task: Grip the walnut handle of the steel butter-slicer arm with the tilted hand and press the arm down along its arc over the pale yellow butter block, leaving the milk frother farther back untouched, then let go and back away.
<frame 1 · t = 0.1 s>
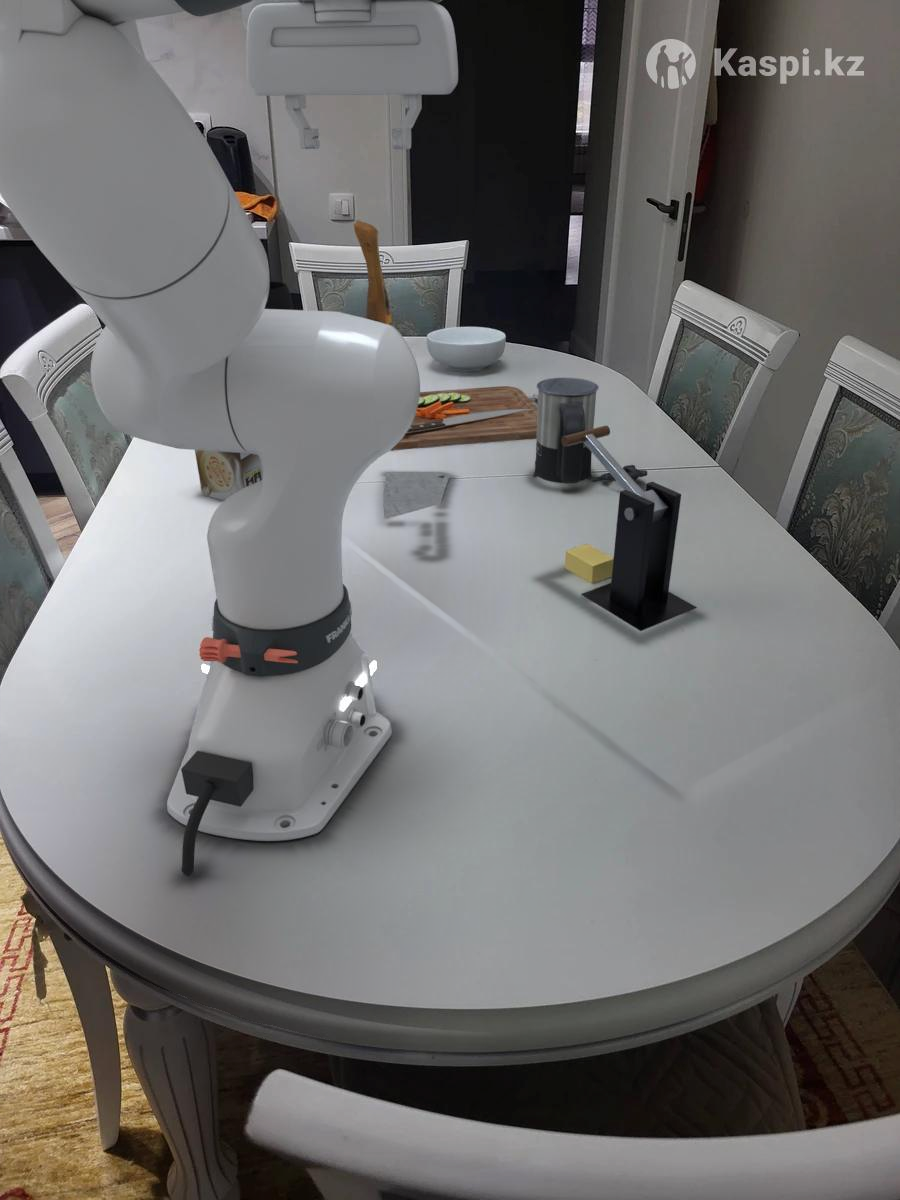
hand: (355, 149, 88), 48 cm above the table, tool pointing down, fingers open, 8 cm apart
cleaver: (413, 512, 128), on the table
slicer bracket: (637, 609, 104), on the table
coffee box: (237, 494, 135), on the table
cereal bowl: (466, 368, 194), on the table
pancake mix bag: (379, 353, 205), on the table
chopping board: (431, 421, 163), on the table
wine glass: (275, 388, 182), on the table
slicer arm: (618, 473, 100), point 15 cm above the table, hinge at 25.0°
milk frother: (588, 482, 138), on the table
butter: (588, 573, 110), point 1 cm above the table, touching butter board
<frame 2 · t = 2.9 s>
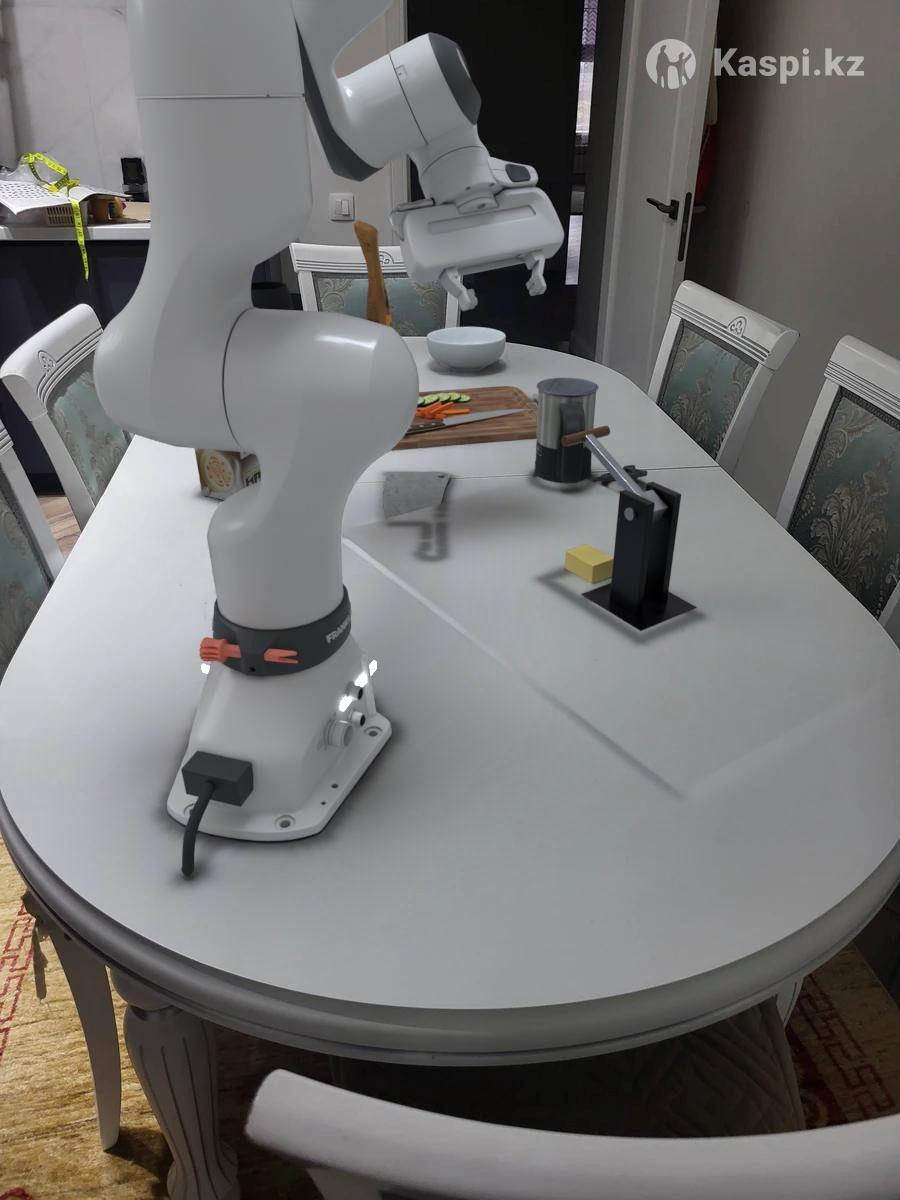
hand: (505, 300, 105), 31 cm above the table, tool tilted 40°, fingers open, 8 cm apart
nothing on the table moved.
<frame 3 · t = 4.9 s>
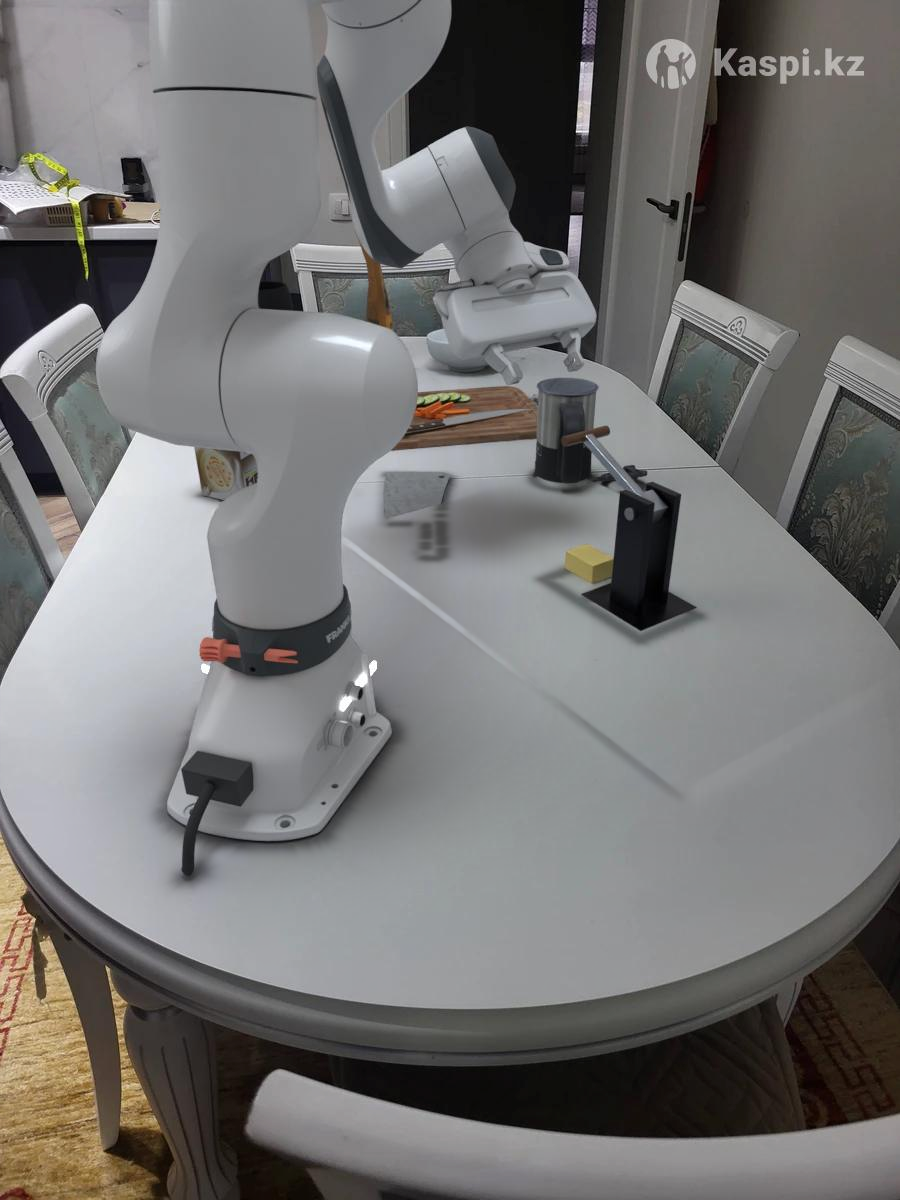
hand: (547, 375, 106), 23 cm above the table, tool tilted 45°, fingers open, 8 cm apart
nothing on the table moved.
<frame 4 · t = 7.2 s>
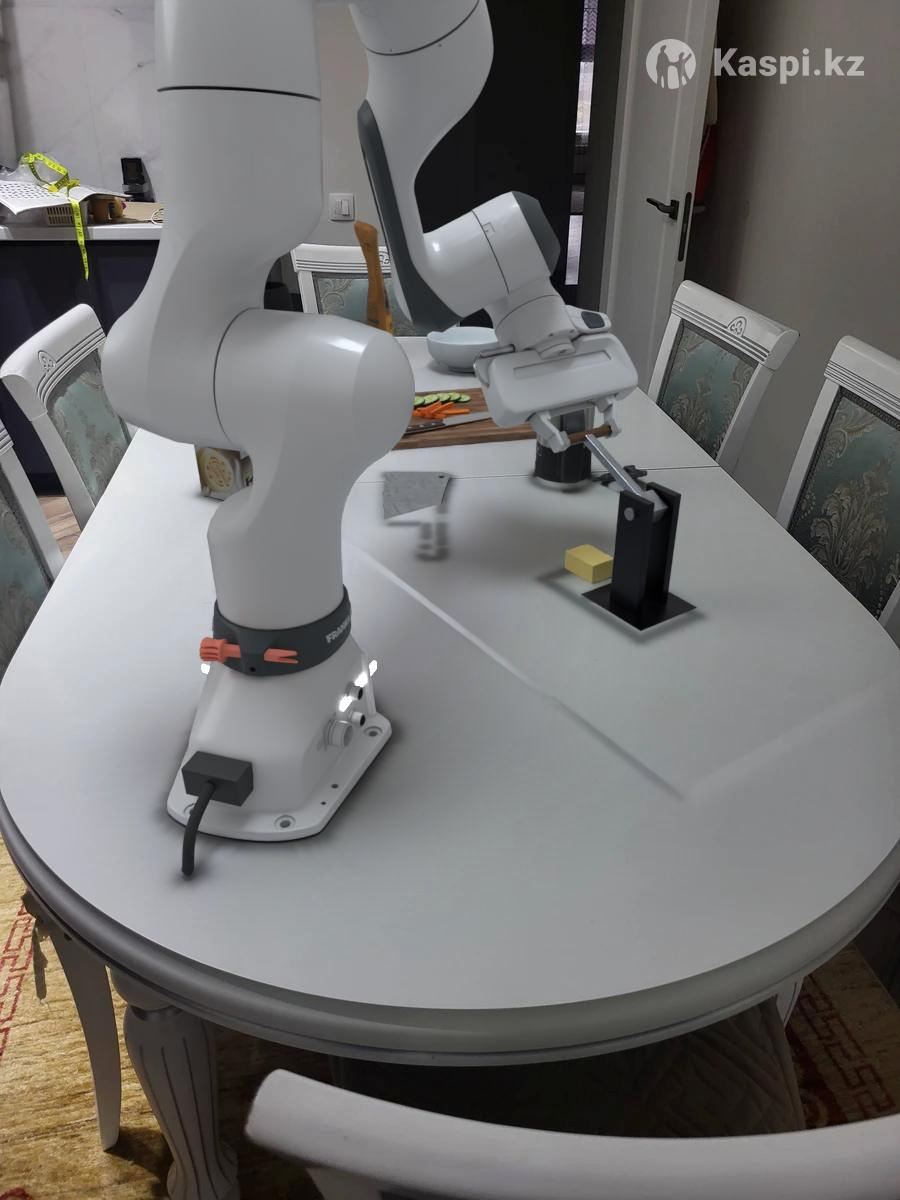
hand: (589, 442, 103), 17 cm above the table, tool tilted 45°, fingers closed on slicer arm, 6 cm apart
slicer arm: (618, 473, 100), point 15 cm above the table, hinge at 25.0°, touching gripper
everything else where it was.
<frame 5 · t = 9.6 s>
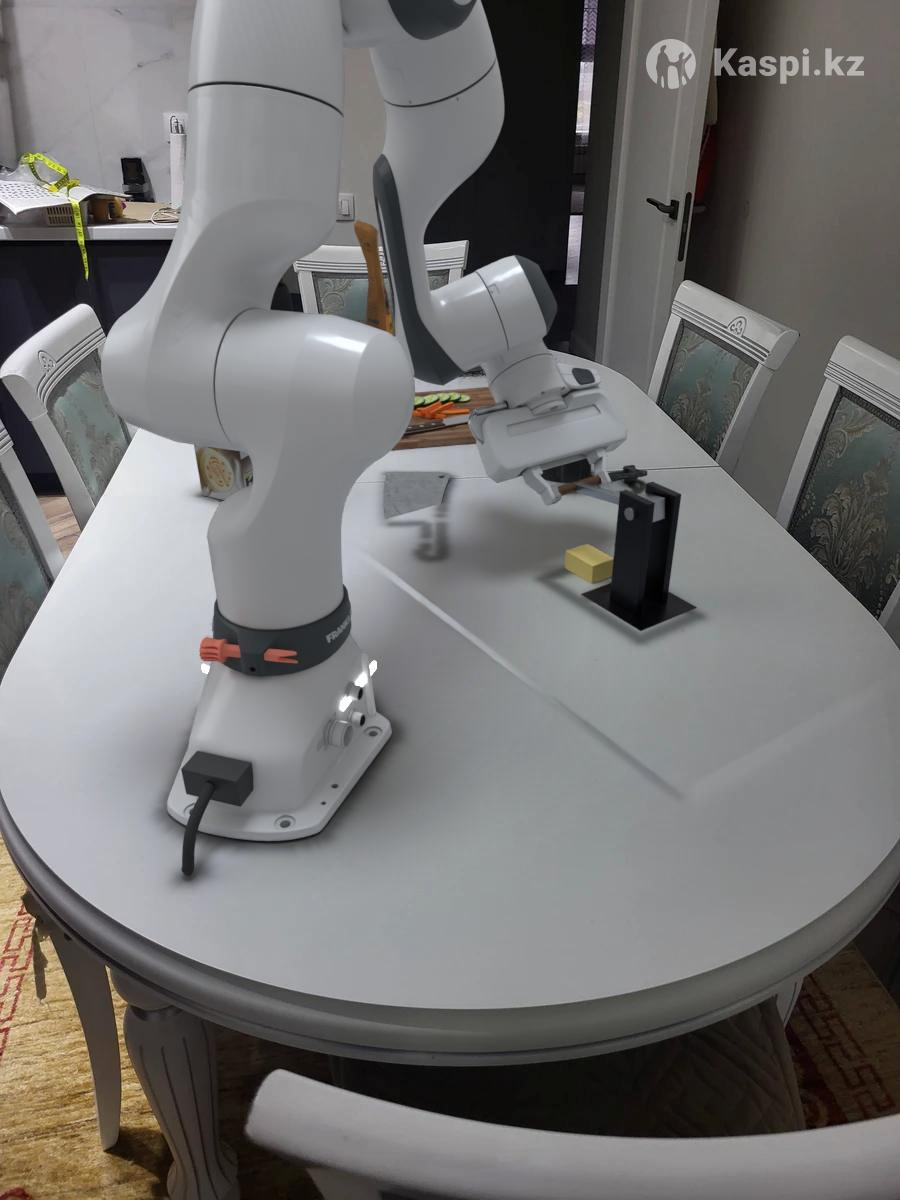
hand: (580, 494, 107), 11 cm above the table, tool tilted 45°, fingers closed on slicer arm, 6 cm apart
slicer arm: (613, 497, 102), point 12 cm above the table, hinge at -7.6°, touching gripper
everything else where it was.
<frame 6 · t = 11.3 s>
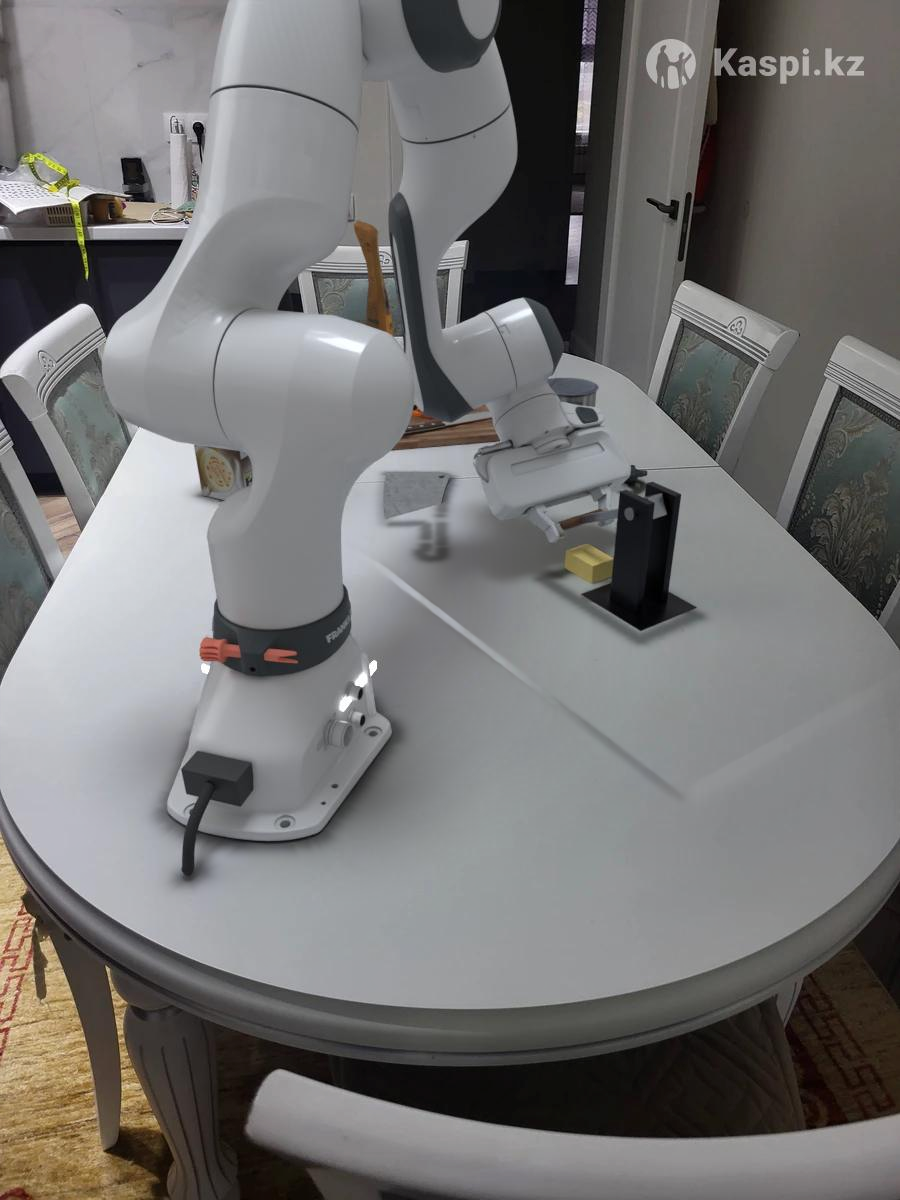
hand: (584, 531, 108), 6 cm above the table, tool tilted 45°, fingers closed on slicer arm, 6 cm apart
slicer arm: (615, 513, 103), point 10 cm above the table, hinge at -27.4°, touching gripper
everything else where it was.
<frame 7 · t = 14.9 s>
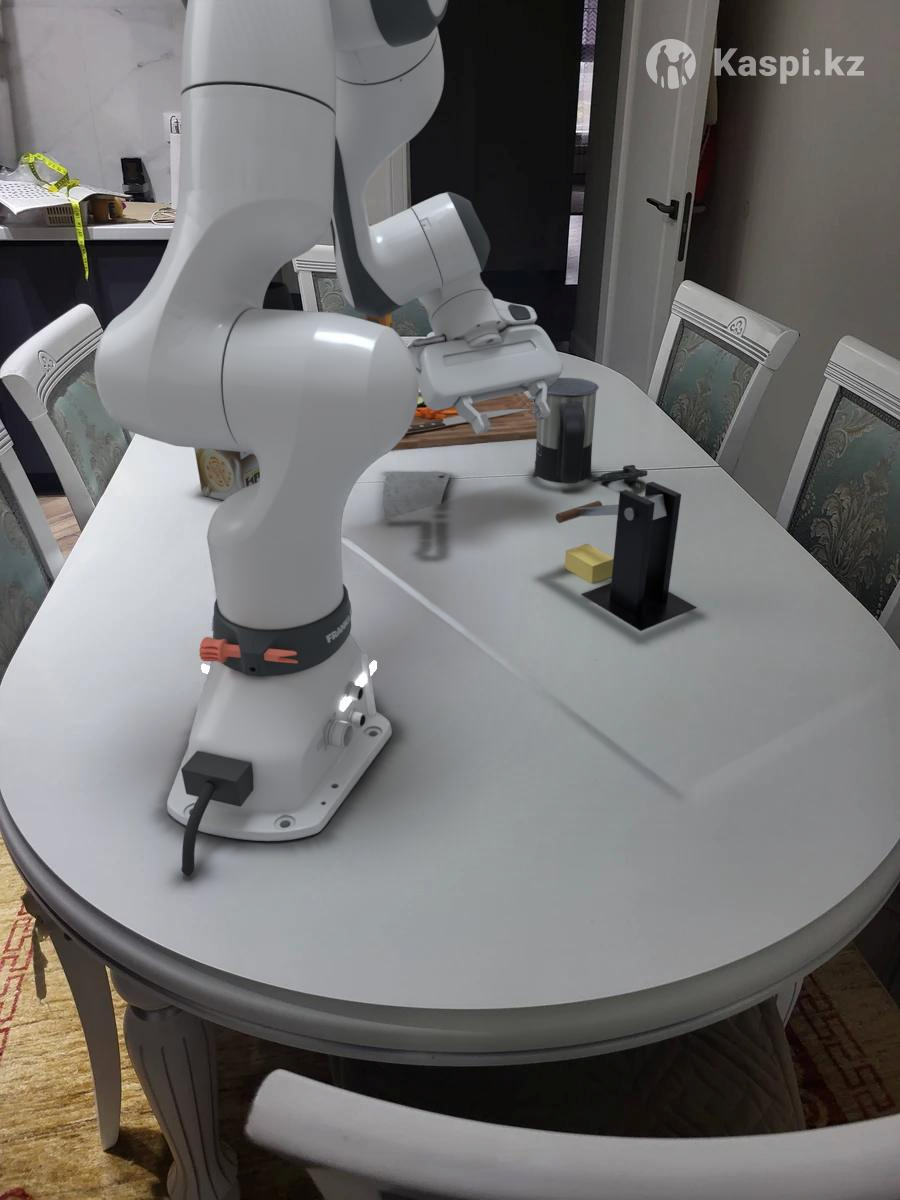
hand: (514, 424, 112), 16 cm above the table, tool tilted 45°, fingers open, 8 cm apart
slicer arm: (614, 509, 103), point 11 cm above the table, hinge at -22.6°
everything else where it was.
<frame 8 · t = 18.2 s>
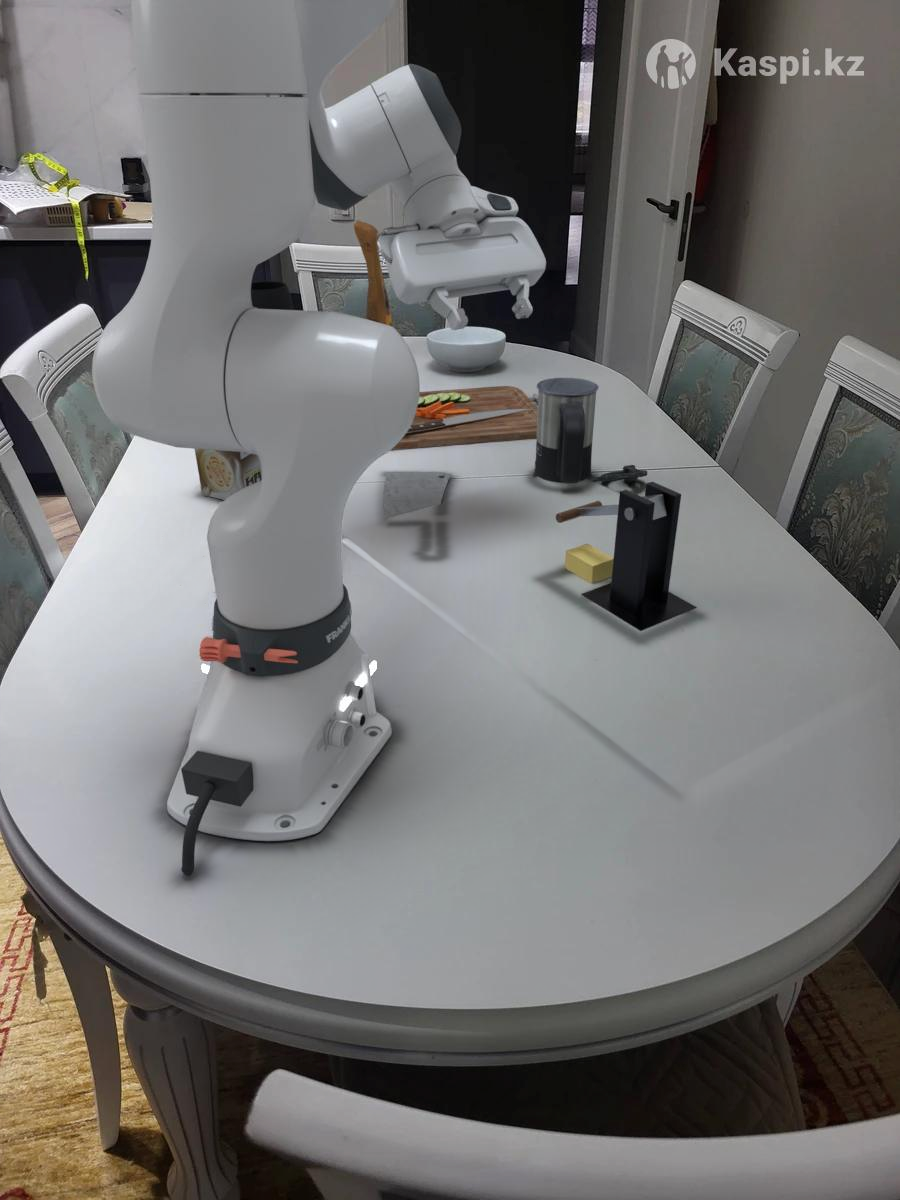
hand: (494, 321, 104), 29 cm above the table, tool tilted 45°, fingers open, 8 cm apart
nothing on the table moved.
at the end: slicer arm reached -27° during the clip, -23° at the end; slicer arm at -23° (first picture: +25°); milk frother moved 0.2 cm from its start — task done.
